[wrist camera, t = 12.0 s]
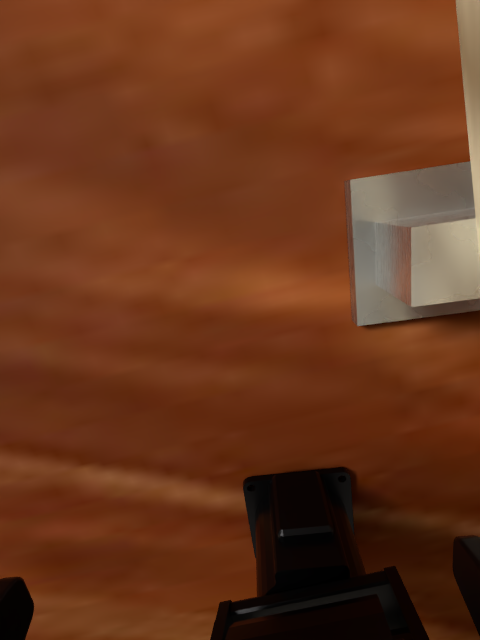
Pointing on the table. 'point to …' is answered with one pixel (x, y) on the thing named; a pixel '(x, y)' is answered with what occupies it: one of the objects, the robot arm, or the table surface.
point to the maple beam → (471, 88)
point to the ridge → (412, 244)
